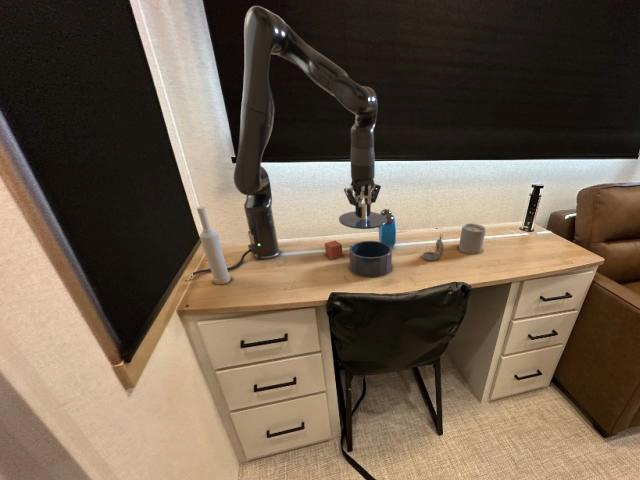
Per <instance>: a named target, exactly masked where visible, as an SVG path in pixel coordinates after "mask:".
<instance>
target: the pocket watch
mask: <svg viewBox="0 0 640 480" xmlns="http://www.w3.org/2000/svg"><path fill="white" fill-rule="evenodd" d="M443 236H444V235H443V234H442V233H439V239H437V240H436V242H435V252H432V251H426V252H423V253H422V258H423V259H425V260H426V261H436V260H438V259H439V257H441V256H443V253H444V243H443V240H442V238H443Z"/></svg>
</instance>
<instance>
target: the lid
mask: <svg viewBox="0 0 640 480" xmlns="http://www.w3.org/2000/svg"><path fill="white" fill-rule="evenodd" d="M361 207H362V218H359V217H357V216H356V212H355V211H349V212H345V213H343V214H341V215H340V216H339V217H338V221H339V223H340V224H341V225H342V226H344V227H347V228H352V229H357V230H372V229H373V230H374V229H379V227H381V226H384V225H385V224H386V223H387V218H386V217H385V216H383V215H381V214H380V213H378V212H374V211H371V213H370V216H367V204H365V202H362V205H361Z"/></svg>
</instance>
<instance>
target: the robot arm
mask: <svg viewBox="0 0 640 480" xmlns="http://www.w3.org/2000/svg"><path fill="white" fill-rule="evenodd" d="M243 27H244V29H243V38H244V42H243V43H244V47H243V48H244V70H243V87H242V88H243V89H242V99H241V100H242V101H241V109H240V123H239V124H240V126H239V137H238V138H239V139H238V149H237V150H238V151H237V157H236V162H235V167H234V171H233V183H234V185H235V188H236V189H237V190H238V192H239V193H241V194H242V195H244V196H246V198H245V202H244V203H243V208H244V213H245V219H246V223H247V226H248V231H247V234H248V239H249V242H250V244H247V247H248V248H247V249H248V250H247V251H245V252H244V253H243V254H242V256H241V258H240V260H239V262H237V264H235V265H233V266H230V267H227V270H228V271H230V270H234V269H237V268H238V267H240V265H241V264H242V263H243V262H244V259H245V257H246V256H247V255H248V254H250V253H251V254H252V255H253V256H254V257H255V258H256V259H258V260H261V259H263V260H266V259H267V260H268V259H273V258H276V257H277V256H279V255H280V253H281V252H280V247H279V242H278V236H277V231H276V225H275V219H274V214H273V208H272V204H273V195H272V187H271V186H272V185H271V181H270V176H269V174H268V172H267V170H266V168H264V167H263V166H262V158H263V155H264V151H265V149H266V146H267V145H268V143H269V140H270V137H271V134H272V131H273V126H274V120H275V119H274V118H275V110H276V109H275V108H276V107H275V106H276V105H275V100H274V95H273V91H272V87H271V83H270V63H271V56H272V55H274V56H275V55H277V56H279V57H280V58H283V59H285V60H287V61H289V62H291V63H293V64H294V65H295V66H297V67H298V68H299V69H301V70H302V71H303V72H304V74H306V76H308V78H309V79H310V80H311V81H313V82H314V83H315V84H316V85H318V87H320V88H321V89H323V90H324V91H326V92H327V93H329V94H330V95H331V96H333V97H334V98H335V99H336V100H337V101H338V102H339V103H340V104H341V105H342V106H343V107H344V108H345V109H346V110H348V111H349V112H350V113H352V114H354V115H355V118H354V123H353V125H351V128H350V178H351V183H350V186H348V187H344V189H343V192H344V194H345V196H346V199H347V201H348V202H349V204H350V205H351V206H354V207H355V208H354V209H355V211H354V212H356V216H357V217H359V218H362V207H361V205H362V203H365V204H367V216H370V213H371V212H372V211H371V210H372V208H371V207H372V204H373V203H376V202H377V199H378V196H379V193H380V190H381V187H382V186H381V185H380V184H377V183H375V180H374V179H375V176H376V175H375V173H376V172H375V171H376V170H375V169H376V167H375V164H376V163H375V162H376V156H375V155H376V153H375V126H376V124H377V123H376V122H377V116H378V109H379V102H378V96H377V93H376V92H375V90H374V89H373V88H372V87H370V86H365V85H361V84H359V83H357V82H356V81H354V80H353V79H352V78H351V77H350V76H349V74H348V73H347V72H346V70H344V69H343V68H341V67H340V66H339V65H337V64H336V63H334V62H333V61H332V60H330V59H329V58H328V57H326V56H325V55H323V54H322V53H320V52H318V51H317V50H315V48H313V47H312V46H311V45H309V44H308V43H306V42H305V41H304V40H303V39H302V38H300V36H299V35H298V34H297V33H296V32H295V31H294V30H293V29H292V28H291V27H290V26H289V25H288V24H287V23H286V22H285V21H284V20H283V19H282V18H281V17H280V16H279V15H277V14H275V13H274V12H272V11H270V10H268V9H266V8H265V7H262V6H260V5H253V6H251V7H250V8H249V9H248V11H247V12H246V14H245V18H244V26H243ZM363 201H364V202H363ZM206 272H211V269H210V268H206V269H201V270H196V271H194V272H192V273H193V276H196V275H197V274H201V273H206ZM193 276H191V278H193Z"/></svg>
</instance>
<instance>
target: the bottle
mask: <svg viewBox="0 0 640 480" xmlns="http://www.w3.org/2000/svg"><path fill="white" fill-rule="evenodd" d="M196 211H197V214H198V216H199V217H198V218H199V221H200V223H201V227H202V232H200V233H199V236H198V237H199V239H200V242H201V245H202V248H203V251H204V255H205V257H206V260H207V263H208V266H209V269H211V271H210V272H211V275H212V280H213V282H214V284H217V285H224V284H227V283H229V282H230V281H231V275H230V273H229V270H227V268H228V267H227V263H226V259H225V256H224V250H223V247H222V244H221V243H222V242H221V239H220V236H219V233H218V232H217V231H215V230H213V228H212V227H211V226H210V222H209V219H208V216H207V211H206V208H205V206H197V207H196Z"/></svg>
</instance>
